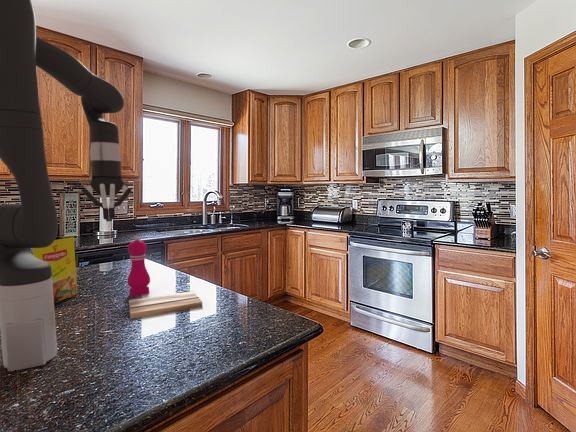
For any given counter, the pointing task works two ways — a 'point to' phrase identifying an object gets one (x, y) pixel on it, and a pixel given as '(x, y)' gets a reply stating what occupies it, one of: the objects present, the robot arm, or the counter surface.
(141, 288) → the pepper mill
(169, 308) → the oak plank
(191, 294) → the ash plank
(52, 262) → the food package
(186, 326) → the counter surface
